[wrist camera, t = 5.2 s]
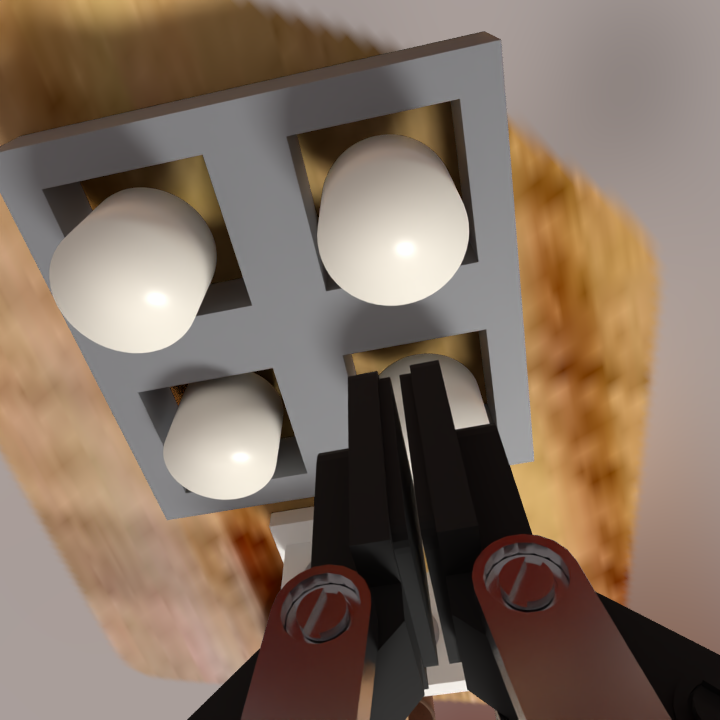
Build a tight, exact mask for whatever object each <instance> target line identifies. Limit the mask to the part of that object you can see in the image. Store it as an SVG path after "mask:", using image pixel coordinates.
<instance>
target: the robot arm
mask: <svg viewBox="0 0 720 720" xmlns="http://www.w3.org/2000/svg"><path fill="white" fill-rule="evenodd" d="M409 366H410V372H411V373H408V374H402V375H399V378H400V385H401V393H402V400H403V407H404V415H405V422H406V430H407V437H408V445H409V452H410V460H411V467H412V474H413V479H412V474H411V470H410V465H409V460H408V456H407V451H406V447H405V442H404V437H403V433H402V428H401V424H400V419H399V414H398V410H397V405H396V401H395V396H394V391H393V387H392V382H391V378H390V377H386V378H380V379H379V375H378V372H377V371H375V372H370V373H364V374H359V375H353V376H348V448H347V449H341V450H335V451H329V452H324V453H319V454H318V456H317V462H316V479H315V497H314V516H313V534H312V553H311V568H310V569H308V570H306V571H303V572H301V573H299V574H298V575H296V576H295V577H294V578H292V579H291V580H290V581H288V582H287V583H286V584H285V586H284V587H283V588H282V589H281V590H280V592H279V593H278V594H277V596H276V598H275V601H274V603H273V605H272V607H271V611H270V614H269V618H268V622H267V625H266V629H265V633H264V636H263V640H262V644H261V647H260V649H259V650H258V651H257V652H256V653H255V654H254V655H253V656H252V657H251V658H250V659H249V660H248V661H247V662H246V663H245V664H244V665H243V666H241V667H240V668H239V669H238V670H237V671H236V672H235V673H234V674H233V675H232V676H231V677H230V678H229V679H228V680H227V681H226V682H225V683H224V684H223V685H222V686H221V687H220V688H219V689H218V690H217V691H216V692H215V693H214V694H213V695H212V696H211V697H210V698H209V699H208V700H207V701H206V702H205V703H204V704H203V705H202V706H201V707H200V708H199V709H198V710H197V711H196V712H195V713H194V714H193V715H191V717H189V718H188V719H187V720H408V716H409V714H410V713H411V712H412V711H413V709H414V708H415V707H416V706H417V704H418V703H419V702H420V701H421V699H422V698H423V697H424V696H425V693H424V690H425V689H429V686H428V677H427V669H426V667H432V666H439V663H438V654H437V647H436V640H435V632H434V625H433V617H432V610H431V603H430V595H429V588H428V581H427V573H426V566H425V558H424V552H425V557H426V561H427V566H428V570H429V575H430V579H431V584H432V588H433V593H434V597H435V602H436V606H437V611H438V615H439V620H440V624H441V629H442V633H443V638H444V642H445V647H446V651H447V656H448V660H449V664H453V663H460V662H462V667H463V672H464V676H465V681H466V686H467V690H469V691H470V692H472V693H473V694H474V695H476V696H477V697H479V698H480V699H481V700H483V701H484V702H485V703H487V704H488V705H490V706H491V707H492V708H494V709H495V714H496V720H720V655H719V654H716V653H715V652H713V651H710V650H709V649H707V648H705V647H703V646H701V645H699V644H697V643H695V642H693V641H691V640H689V639H687V638H685V637H683V636H681V635H679V634H677V633H676V632H674V631H672V630H669V629H668V628H666V627H664V626H662V625H660V624H658V623H656V622H654V621H652V620H650V619H648V618H646V617H644V616H642V615H640V614H638V613H636V612H634V611H632V610H630V609H628V608H626V607H625V606H623V605H621V604H619V603H617V602H615V601H613V600H611V599H609V598H607V597H605V596H603V595H601V594H599V593H597V592H595V591H594V589H593V587H592V586H591V584H590V582H589V581H588V579H587V577H586V576H585V574H584V572H583V570H582V569H581V567H580V565H579V564H578V562H577V561H576V559H575V558H574V557H573V556H572V555H571V553H570V552H569V551H568V550H567V549H566V548H564V547H563V546H561V545H560V544H558V543H557V542H555V541H553V540H551V539H548V538H545V537H542V536H539V535H532V532H531V529H530V526H529V523H528V520H527V517H526V513H525V510H524V507H523V504H522V501H521V498H520V495H519V492H518V489H517V486H516V483H515V480H514V477H513V474H512V471H511V468H510V465H509V462H508V459H507V456H506V453H505V450H504V447H503V444H502V441H501V438H500V435H499V432H498V429H497V426H496V424H495V423H490V424H484V425H478V426H473V427H467V428H461V429H456V430H455V426H454V422H453V418H452V413H451V409H450V405H449V401H448V397H447V392H446V388H445V384H444V380H443V376H442V371H441V367H440V363H439V360H435V361H429V362H424V363H418V364H413V365H409ZM413 482H414V483H413ZM422 542H423V544H422ZM423 547H424V551H423Z"/></svg>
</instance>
